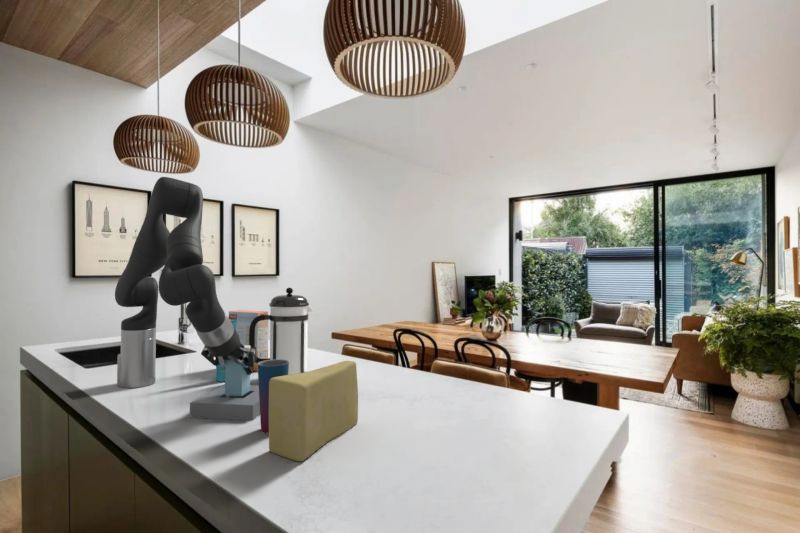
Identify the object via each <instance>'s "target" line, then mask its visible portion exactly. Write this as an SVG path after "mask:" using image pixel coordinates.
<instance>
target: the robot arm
mask: <svg viewBox="0 0 800 533" xmlns="http://www.w3.org/2000/svg"><path fill="white" fill-rule="evenodd" d="M203 206H204V196H203V191H202V188H201V187H200V186H199V185H197V184H195V183H191V182H187V181H185V180H181V179H178V178H173V177H167V176H160V177H159V178H158V179H157V180H156V182H155V183H154V186H153V189H152V193H151V195H150V199H149V202H148V205H147V209H146V212H145V217H144V220H143V223H142V225H141V227H140V230H139V231H138V234H137V237H136V239H135V241H134V243H133V246H132V250H131V252H130V255H129V256H130V257H129V259H128V261H127V265H126V266H125V268H124V269H123V271H122V273H121V275H120V277H119V279H118V281H117V283H116V286H115V291H114V299H115V302H116V304H117V305H118V306H120V307H123V308H138V307H142V309H141V310H140V311H139V312H138V313H136V314H134V315H133V316H130V317H127V318H124V319H123V320H122V321H121V322H120V353H118V354H117V356H116V357H117V358H116V359H117V365H116V366H117V367H116V368H117V369H116V371H117V372H116V373H117V374H116V377H117V379H116V386H118V387H121V388H124V389H125V388H126V389H131V388H141V387H142V388H143V387H146V386H150V385H153V384H155V383H156V361H157V360H156V359H157V358H156V356H157V355H156V354H157V353H156V351H157V347H156V346H157V342H156V341H157V338H156V337H157V319H158V318H157V317H158V300H159V296H160V298H161V300H162V301H164V302H165V303H166V304H167V305H170V306H173V307H175V306H177V307H178V306H182V305H185V304H187V305H186V307H185V315H186V318H187V319H188V320H189V322H190V323H191V325H192V327H193V328H194V329H195V332H196V334H197V336H198V338H199V340H200V341H201V342H202V344H203V345H204V346H203V349H202V351H201V353H200V354H201V356H203V358H205V359H206V360H207V361H208V362H209V363H211V364H212V366H215V367H216V366H218V365H220V366H221V367H224V369H225V364H226V360H233V361H234V362H235V363H237V364H240V365H241V366H243V367H244V369H245V371H246V373H247V374H248V375H250V376H251V375H252V374H253V372H254V371H253V370H254V367H253V366H254V364H255V361H256V359H257V355H256V347H255V346H251V348H245V346H244V345H243V344H241V343H240V338H239V335H238V333H237V331H236V330H235V328H234V326H233V324H232V323H231V321H230V319H229V315H227V314H226V311H224V309H223V307H222V306H221V304H220V302H219V299H218V295H217V285H216V279H215V275H214V273H213V270H212V269H211V268H210V267H208V266H206V265H205V264H203V263H204V255H203V248H202V247H203V246H202V241H201V240H202V239H201V234H202V232H201V231H202V224H203V209H204V207H203ZM163 215H168V216H172V217H178V218H182V219H184V220H183V221H182V222H181V223H179V224H178V225H176V226H175V227H174V228H173V229H172V230H171V231H170V230H169V229H168V227H167V225H166V224H165V221H164V219H163ZM161 269H162V270H161ZM159 270H161V273H160V275H159V279H158V281H157V279H156V278H155V277H151V275H153V274H154V273H156V272H157V271H159ZM214 358H215V359H214ZM244 359H245V362H244Z"/></svg>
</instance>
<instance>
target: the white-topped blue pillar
mask: <svg viewBox="0 0 800 533" xmlns="http://www.w3.org/2000/svg"><path fill="white" fill-rule="evenodd" d="M244 346H245V348H250V345H244ZM244 362H245V359H244ZM224 385H225V395H229V396H243V395H244V394H246V393H247V392H249V391H250V386H251V375H248V374H247V373H246V371H245V369H244V367H243V366H241V365H240V364H237V363H235V362H234V361H233V360H226V364H225V382H224Z"/></svg>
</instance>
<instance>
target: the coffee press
mask: <svg viewBox="0 0 800 533" xmlns="http://www.w3.org/2000/svg"><path fill="white" fill-rule="evenodd" d="M293 292H294V290H293V288H292V287H287V288H286V290H285V293H286V294H283V295H276V296H274V297H272V299H271V301H270V303H269V308H270V314H268V315H260V316H257V317H255V318H254V319H253V320H252V322H251V324H250V329H249V345H250V348H251V346H255V326H256V324H257V323H258V322H259V321H261V320H268V321H269V325H270V328H269V329H270V330H269V334H270V336H269V340H270V341H269V342H270V343H269V357H268V359H261V358H258V357H257V359H256V361H255V363H259V362H261V361H265V360H273V359H281V360H287V361H289V370H288V375H291V374H298V373H304V372H307V369H308V327H309V326H308V320H309V312H314V309H313V308H312V307H311V305H310V303H309V302H308V299H307V298H306V297H305V296H303V295H298V294H297V295H296V294H293Z"/></svg>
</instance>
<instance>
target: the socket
mask: <svg viewBox="0 0 800 533" xmlns="http://www.w3.org/2000/svg"><path fill="white" fill-rule="evenodd" d="M258 416H260V401H259V385H250V391H249V392H247V393H246V394H244V395H243V396H229V395H225V384H222V385H220V386H219V387H216V388H215V389H213V390H211V391H210V392H207V393H205V394H204V395H201V396H200V397H198V398H196V399H194V400H192V401H191V402H189V418H201V419H202V418H203V419H223V420H225V419H226V420H230V419H231V420H244V421H245V420H246V421H247V420H248V421H249V420H250V421H254V420H255V419H256V418H257V417H258ZM253 419H254V420H253Z"/></svg>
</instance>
